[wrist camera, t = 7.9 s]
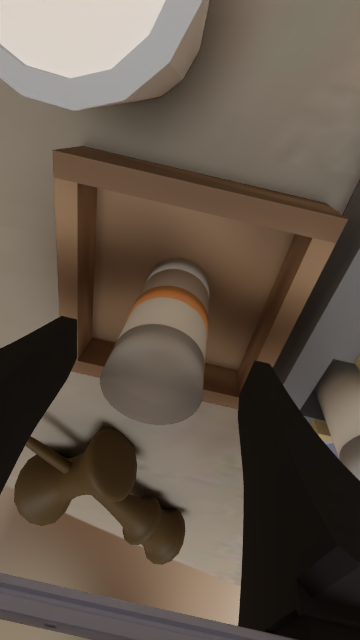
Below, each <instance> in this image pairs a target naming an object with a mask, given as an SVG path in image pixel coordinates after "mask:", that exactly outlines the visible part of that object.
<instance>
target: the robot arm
mask: <svg viewBox="0 0 360 640" xmlns="http://www.w3.org/2000/svg"><path fill="white" fill-rule="evenodd" d="M76 359H77V319H74V318H69V317H65V316H61V317H59V318H57V319H55V320H53V321H52V322H50V323H48V324H46V325H44V326H43V327H41V328H39V329H37V330H35V331H34V332H32V333H30V334H28V335H26V336H24V337H23V338H21V339H19V340H17V341H15V342H13V343H11V344H9V345H7V346H5V347H3V348H1V349H0V494H1V492H2V490H3V488H4V486H5V484H6V482H7V480H8V478H9V476H10V474H11V472H12V470H13V468H14V466H15V464H16V462H17V460H18V458H19V456H20V454H21V452H22V450H23V448H24V447H25V445H26V443H27V441H28V439H29V437H30V435H31V434H32V432H33V430H34V429H35V427H36V426H37V424H38V422H39V421H40V419H41V418H42V416H43V415H44V413H45V412H46V410H47V409H48V407H49V406H50V404H51V403H52V401H53V400H54V398H55V397H56V395H57V394H58V392H59V391H60V389H61V388H62V386H63V385H64V383H65V381H66V380H67V378H68V376H69V374H70V372H71V370H72V368H73V366H74V364H75V362H76ZM238 423H239V435H240V445H241V456H242V466H243V480H244V521H243V555H242V577H241V594H240V611H239V623H238V626H234V625H230V624H226V623H221V622H216V621H212V620H208V619H203V618H199V617H195V616H190V615H186V614H181V613H176V612H172V611H168V610H163V609H159V608H154V607H150V606H145V605H141V604H136V603H132V602H128V601H123V600H119V599H114V598H110V597H105V596H101V595H96V594H92V593H88V592H82V591H79V590H74V589H69V588H65V587H61V586H56V585H51V584H47V583H42V582H38V581H34V580H29V579H25V578H21V577H16V576H12V575H7V574H3V573H0V619H2V620H7V621H12V622H16V623H20V624H25V625H29V626H34V627H38V628H43V629H47V630H52V631H56V632H61V633H65V634H70V635H74V636H79V637H83V638H88V639H92V640H360V481H359V480H358V479H357V478H356V477H355V475H354V474H353V473H352V472H351V471H350V470H349V469H348V468H347V467H346V466H345V465H344V464H343V463H342V462H341V461H340V459H339V457H338V454H337V451H336V448H335V445H334V443H332V442H327V441H323V440H322V439H321V438H320V437H319V435H318V434H317V433H316V432H315V430H314V429H313V428H312V426H311V425H310V424H309V422H308V421H307V420H306V418H305V417H304V416H303V414H302V413H301V411H300V410H299V408H298V407H297V406H296V404H295V403H294V401H293V400H292V398H291V397H290V395H289V394H288V392H287V390H286V389H285V387H284V386H283V384H282V383H281V381H280V379H279V378H278V376H277V374H276V373H275V371H274V370H273V368H272V367H271V365H270V364H269V363H264V362H260V361H256V360H255V361H254V363H253V365H252V367H251V369H250V372H249V374H248V376H247V378H246V381H245V383H244V385H243V387H242V389H241V392H240V394H239V405H238Z"/></svg>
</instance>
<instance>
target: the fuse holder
mask: <svg viewBox="0 0 360 640" xmlns="http://www.w3.org/2000/svg"><path fill="white" fill-rule="evenodd" d="M343 216H344V217H346V218H347V219H348V221H347V223H346V225H345V227H344V229H343V231H342V233H341V235H340V237H339V238H338V240H337V242H336V244H335V246H334V248H333V250H332V252H331V254H330V256H329V258H328V260H327V262H326V264H325V266H324V268H323V270H322V272H321V274H320V276H319V278H318V280H317V282H316V284H315V286H314V288H313V290H312V292H311V294H310V296H309V298H308V300H307V301H306V303H305V305H304V307H303V309H302V311H301V313H300V315H299V317H298V319H297V321H296V323H295V325H294V327H293V329H292V331H291V333H290V335H289V337H288V339H287V341H286V343H285V345H284V347H283V349H282V351H281V353H280V355H279V357H278V359H277V361H276V363H275V364H274V366H273V370H274V371H275V373H276V374H277V376H278V378H279V379H280V381H281V383H282V384H283V386H284V387H285V389H286V390H287V392H288V394H289V395H290V397H291V398H292V400H293V401H294V403H295V404H296V406H297V407H298V408H299V410H300V411H301V413H302V414H303V416H304V417H305V418H306V420H307V421H308V422H309V424H310V425H311V426H312V428H313V429H314V430H315V432H316V433H317V434H318V435H319V437H320V438H321V439H322V440H323V441H327V442H332V443H333V440H332V437H331V434H330V431H329V429H328V426H327V423H326V420H325V417H324V415H323V412H322V409H321V406H320V403H319V401H318V398H317V395H316V392H315V389H314V388H315V386H316V385H317V383H318V382H319V380H320V379H321V377H322V375H323V374H324V372H325V371H326V369H327V368H328V366H329V365H330V363H331V362H332V360H333V359H336V360H340V361H345V362H349V363H353V364H356V366H357V367H358V369H359V371H360V181H359V183H358V185H357V187H356V189H355V191H354V193H353V195H352V197H351V199H350V201H349V203H348V205H347V207H346V209H345V211H344V213H343Z"/></svg>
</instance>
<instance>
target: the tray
mask: <svg viewBox="0 0 360 640" xmlns="http://www.w3.org/2000/svg"><path fill="white" fill-rule="evenodd" d="M53 174H54V197H55V220H56V244H57V267H58V291H59V314H60V317H61V316H65V317H69V318H74V319H77V359H76V362H75V364H74V366H73V368H72V370H71V371H73V372H77V373H81V374H86V375H90V376H94V377H99V378H101V373H102V371H103V368H104V366H105V364H106V362H107V360H108V358H109V356H110V354H111V352H112V350H113V348H114V346H115V344H116V342H117V340H118V338H119V336H120V334H121V332H122V330H123V328H124V326H125V324H126V321H127V318H128V315H129V313H130V311H131V309H132V307H133V305H134V303H135V301H136V300H137V299H138V297H139V295H140V293H141V291H142V289H143V287H144V285H145V283H146V281H147V279H148V277H149V275H150V273H151V271H152V270H153V269H154V267H155V266H156V265H158V264H159V263H160V262H162V261H164V260H167V259H171V258H183V259H187V260H190V261H192V262H194V263H196V264H197V265H199V266H200V267H201V268H202V269H203V270H204V272H205V273H206V275H207V277H208V279H209V283H210V296H209V310H208V318H209V325H208V339H207V343H206V353H205V367H204V382H203V396H202V401H204V402H209V403H213V404H218V405H222V406H226V407H231V408H235V409H238V405H239V394H240V392H241V389H242V387H243V385H244V383H245V381H246V378H247V376H248V374H249V372H250V369H251V367H252V365H253V363H254V361H255V360H256V361H260V362H264V363H269V364H270V365H271V367H272V368H273V366H274V364H275V363H276V361H277V359H278V357H279V355H280V353H281V351H282V349H283V347H284V345H285V343H286V341H287V339H288V337H289V335H290V333H291V331H292V329H293V327H294V325H295V323H296V321H297V319H298V317H299V315H300V313H301V311H302V309H303V307H304V305H305V303H306V301H307V300H308V298H309V296H310V294H311V292H312V290H313V288H314V286H315V284H316V282H317V280H318V278H319V276H320V274H321V272H322V270H323V268H324V266H325V264H326V262H327V260H328V258H329V256H330V254H331V252H332V250H333V248H334V246H335V244H336V242H337V240H338V238H339V237H340V235H341V233H342V231H343V229H344V227H345V225H346V223H347V221H348V219H347V218H346V217H344V216H343V215H341V214H340V213H339V212H337V211H336V210H334V209H333V208H332V207H330V206H329V205H328V204H326V203H322V202H318V201H314V200H310V199H305V198H301V197H297V196H293V195H288V194H284V193H280V192H275V191H271V190H267V189H263V188H258V187H254V186H250V185H246V184H241V183H237V182H233V181H229V180H224V179H220V178H216V177H212V176H207V175H203V174H199V173H194V172H190V171H186V170H182V169H177V168H173V167H169V166H165V165H160V164H156V163H152V162H148V161H143V160H139V159H135V158H131V157H126V156H122V155H118V154H114V153H109V152H105V151H101V150H96V149H92V148H88V147H84V146H80V147H72V148H65V149H57V150H53Z"/></svg>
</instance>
